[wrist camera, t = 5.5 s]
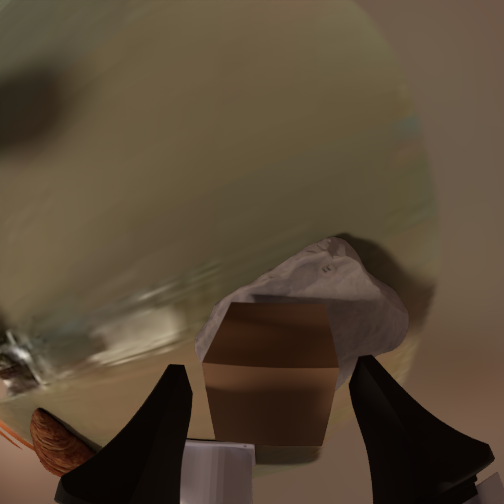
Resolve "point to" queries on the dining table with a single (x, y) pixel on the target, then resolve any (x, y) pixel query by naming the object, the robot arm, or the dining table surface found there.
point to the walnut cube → (271, 374)
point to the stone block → (327, 301)
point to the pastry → (57, 444)
